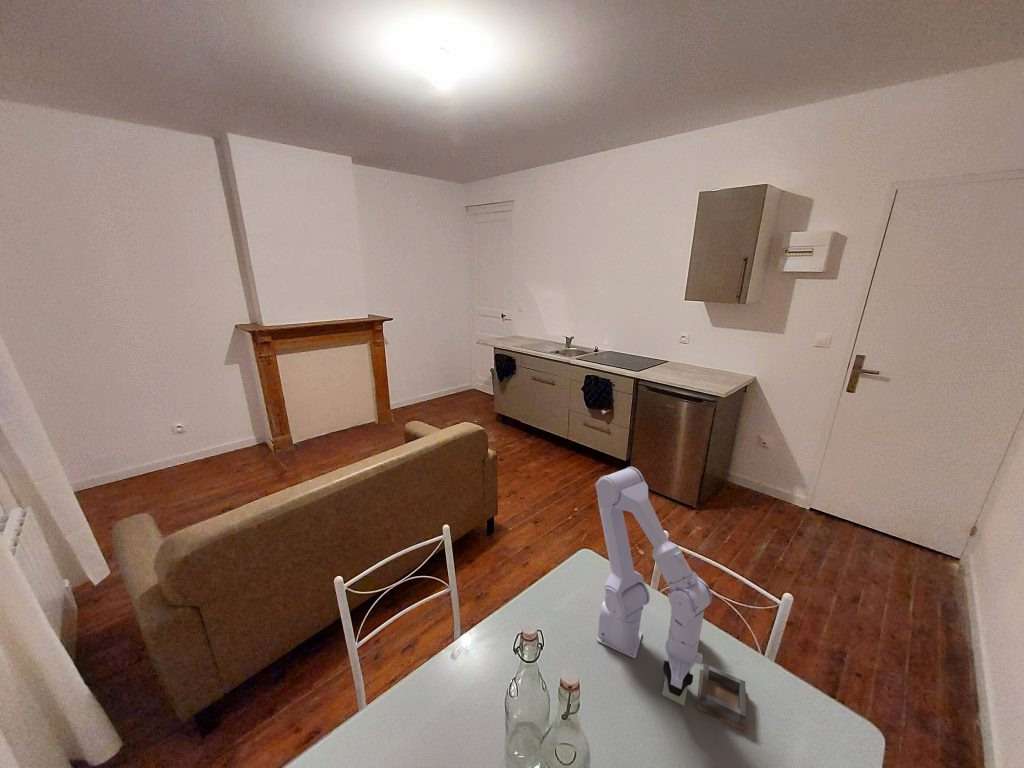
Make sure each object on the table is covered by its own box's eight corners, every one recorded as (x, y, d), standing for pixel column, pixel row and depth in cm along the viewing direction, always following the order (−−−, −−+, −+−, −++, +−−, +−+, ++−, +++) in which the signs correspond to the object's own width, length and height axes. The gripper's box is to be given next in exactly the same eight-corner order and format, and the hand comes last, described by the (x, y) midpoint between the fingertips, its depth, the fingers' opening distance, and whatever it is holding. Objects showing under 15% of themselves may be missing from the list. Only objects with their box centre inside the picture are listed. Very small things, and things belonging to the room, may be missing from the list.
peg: (662, 694, 83) (666, 666, 81) (665, 677, 87) (669, 649, 85) (684, 705, 81) (689, 676, 79) (686, 687, 85) (691, 659, 83)
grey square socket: (696, 708, 80) (698, 696, 80) (699, 671, 88) (701, 660, 87) (746, 732, 76) (749, 720, 75) (745, 692, 84) (747, 680, 83)
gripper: (702, 672, 72) (693, 725, 75) (707, 615, 84) (698, 663, 87) (663, 654, 75) (655, 706, 79) (673, 602, 87) (666, 649, 91)
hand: (675, 682), depth 83 cm, fingers closed on peg, 4 cm apart
